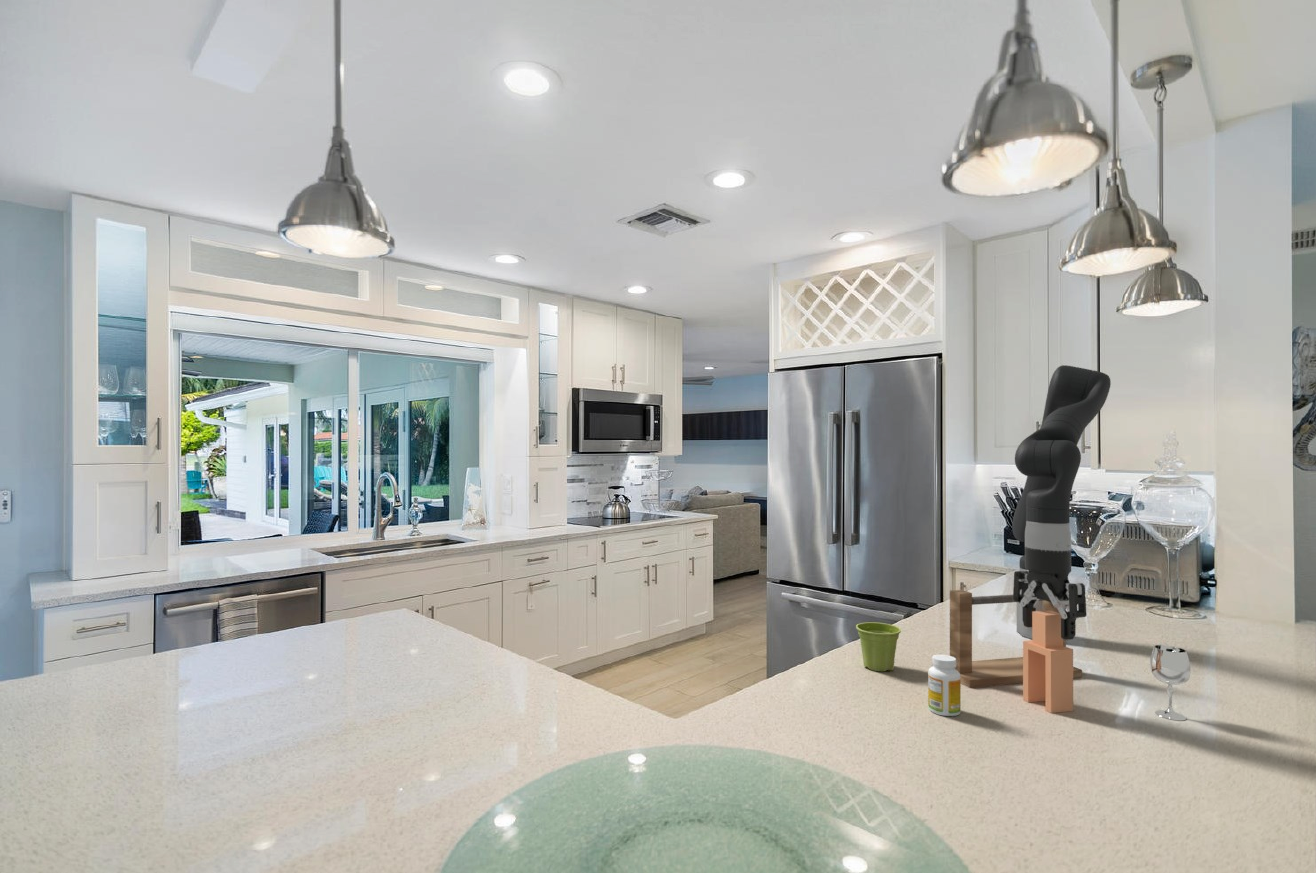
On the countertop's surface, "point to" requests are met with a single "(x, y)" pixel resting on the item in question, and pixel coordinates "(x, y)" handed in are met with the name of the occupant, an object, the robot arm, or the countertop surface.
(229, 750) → the countertop surface
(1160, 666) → the wineglass
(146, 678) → the countertop surface
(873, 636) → the plant pot
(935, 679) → the supplement bottle
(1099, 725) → the countertop surface
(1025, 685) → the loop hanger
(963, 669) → the hook stand
